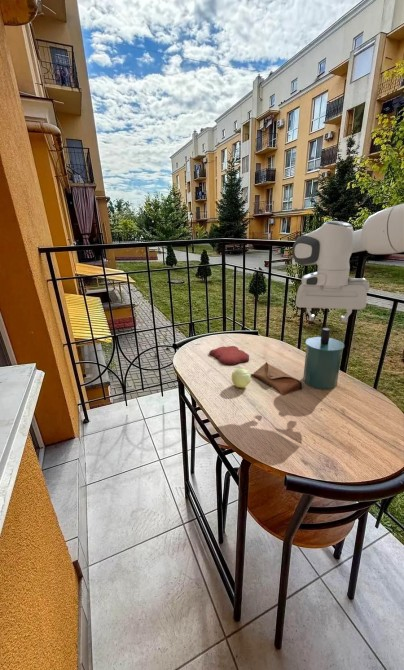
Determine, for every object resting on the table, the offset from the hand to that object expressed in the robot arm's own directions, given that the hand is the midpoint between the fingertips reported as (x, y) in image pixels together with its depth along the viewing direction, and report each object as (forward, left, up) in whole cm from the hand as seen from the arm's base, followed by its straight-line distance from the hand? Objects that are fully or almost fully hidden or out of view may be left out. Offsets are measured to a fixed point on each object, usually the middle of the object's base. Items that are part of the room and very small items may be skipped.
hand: (327, 321), depth 90 cm
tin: (0, 0, -23) cm, 23 cm away
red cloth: (+38, +5, -23) cm, 45 cm away
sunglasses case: (+11, +10, -23) cm, 28 cm away
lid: (0, 0, -8) cm, 8 cm away
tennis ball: (+18, +21, -23) cm, 36 cm away
